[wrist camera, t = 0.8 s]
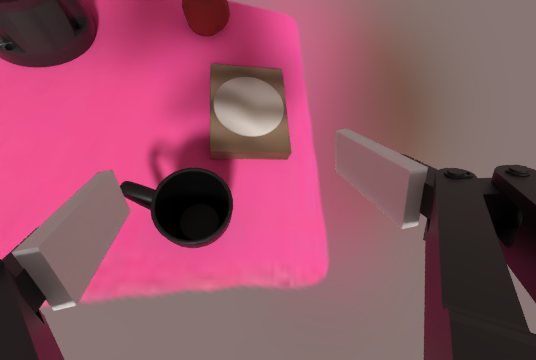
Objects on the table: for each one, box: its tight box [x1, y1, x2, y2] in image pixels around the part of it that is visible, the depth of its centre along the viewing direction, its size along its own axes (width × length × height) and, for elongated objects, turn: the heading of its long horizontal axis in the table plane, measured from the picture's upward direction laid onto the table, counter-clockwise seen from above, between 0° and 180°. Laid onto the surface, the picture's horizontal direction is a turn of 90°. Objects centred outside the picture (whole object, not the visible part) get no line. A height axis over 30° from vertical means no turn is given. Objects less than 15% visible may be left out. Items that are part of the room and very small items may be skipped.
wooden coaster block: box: [210, 64, 291, 159], centre depth 41 cm, size 16×12×3 cm
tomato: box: [182, 0, 230, 36], centre depth 44 cm, size 8×8×7 cm
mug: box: [120, 168, 233, 248], centre depth 30 cm, size 8×12×10 cm
